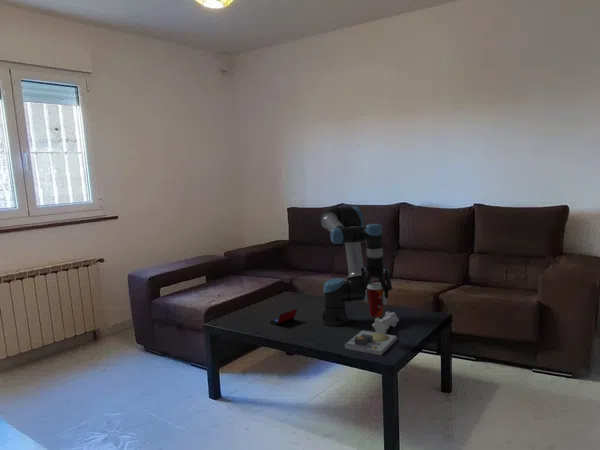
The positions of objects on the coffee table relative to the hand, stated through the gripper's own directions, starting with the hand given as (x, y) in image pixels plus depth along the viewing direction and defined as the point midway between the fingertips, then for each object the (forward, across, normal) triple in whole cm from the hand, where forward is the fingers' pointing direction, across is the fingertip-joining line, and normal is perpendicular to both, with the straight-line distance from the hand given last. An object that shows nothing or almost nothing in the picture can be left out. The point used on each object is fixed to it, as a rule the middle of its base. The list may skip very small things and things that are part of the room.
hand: (376, 303), depth 218 cm
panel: (+19, -2, -4) cm, 20 cm away
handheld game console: (+19, -58, +4) cm, 61 cm away
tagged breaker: (+17, -3, -12) cm, 21 cm away
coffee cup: (+6, 0, 0) cm, 6 cm away
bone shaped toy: (+19, -3, +17) cm, 26 cm away
